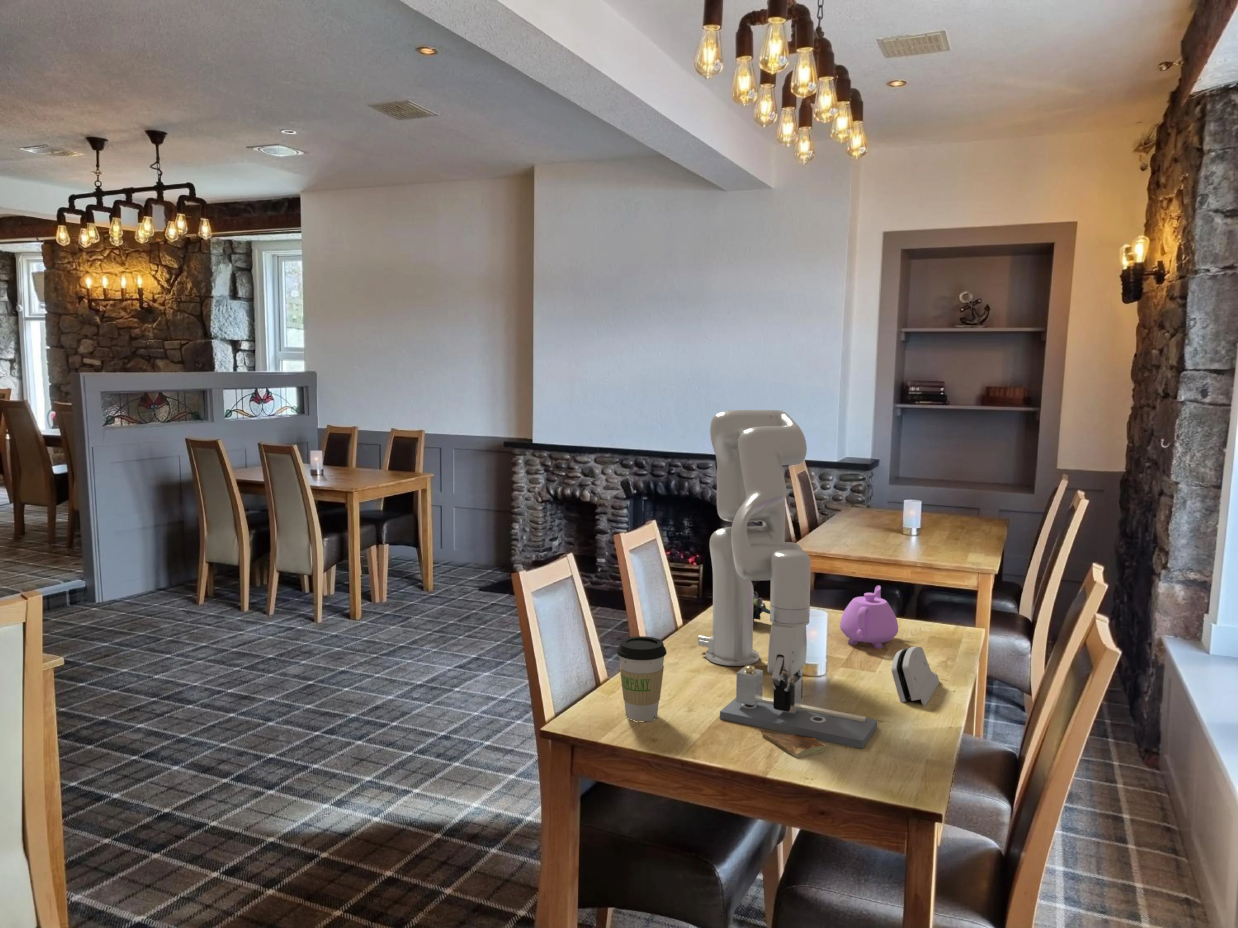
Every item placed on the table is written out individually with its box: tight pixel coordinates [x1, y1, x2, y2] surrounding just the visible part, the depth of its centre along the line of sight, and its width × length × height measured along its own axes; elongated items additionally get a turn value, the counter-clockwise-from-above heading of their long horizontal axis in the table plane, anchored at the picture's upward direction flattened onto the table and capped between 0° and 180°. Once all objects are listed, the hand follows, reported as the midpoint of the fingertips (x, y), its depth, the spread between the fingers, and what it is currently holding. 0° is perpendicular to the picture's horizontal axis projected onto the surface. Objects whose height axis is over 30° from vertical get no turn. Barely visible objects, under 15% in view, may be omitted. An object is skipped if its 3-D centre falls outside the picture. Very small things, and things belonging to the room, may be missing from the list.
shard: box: [760, 730, 826, 759], centre depth 161 cm, size 11×8×2 cm
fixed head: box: [735, 664, 764, 706], centre depth 175 cm, size 4×4×8 cm
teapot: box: [839, 585, 899, 649], centre depth 222 cm, size 20×14×12 cm
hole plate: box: [719, 696, 878, 750], centre depth 170 cm, size 28×11×2 cm, turn 60°
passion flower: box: [753, 590, 770, 622], centre depth 237 cm, size 11×11×12 cm
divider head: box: [775, 671, 803, 714], centre depth 171 cm, size 4×4×8 cm
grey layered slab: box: [890, 646, 940, 707], centre depth 188 cm, size 17×5×10 cm, turn 150°
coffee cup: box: [616, 635, 667, 722], centre depth 173 cm, size 10×10×15 cm
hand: (787, 702), depth 171 cm, fingers open, 6 cm apart
